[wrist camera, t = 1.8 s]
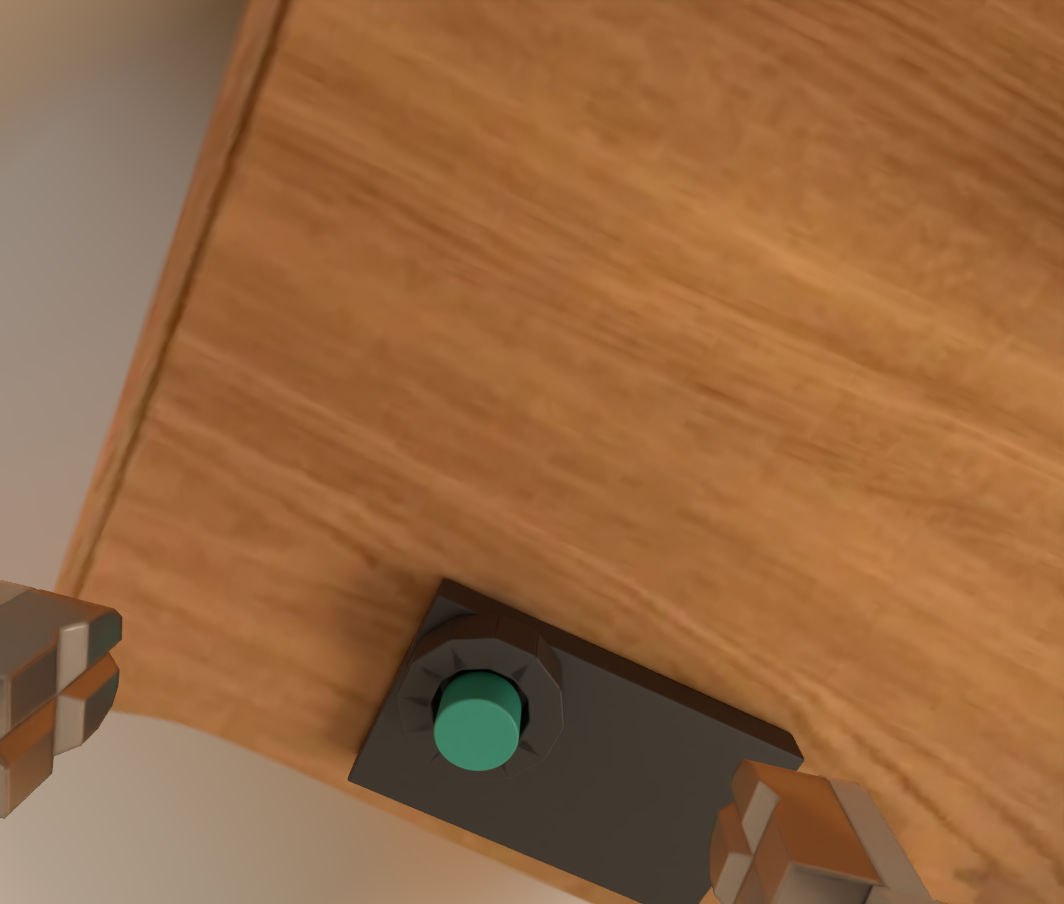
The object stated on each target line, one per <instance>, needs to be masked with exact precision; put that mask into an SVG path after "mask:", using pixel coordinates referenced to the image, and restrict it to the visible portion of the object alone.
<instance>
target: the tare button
mask: <svg viewBox="0 0 1064 904" xmlns="http://www.w3.org/2000/svg"><path fill="white" fill-rule="evenodd" d="M520 719H521V701H520V698H519V695H518V693H517V692H516V690H515V689H514V687H513V686H512V685H511V684H510V683H509V682H508V681H507V680H505V679H504V678H502V677H500V676H498V675H496V674H493V673H489V672H483V671H476V672H470V673H466V674H463V675H461V676H459V677H457V678H456V679H454V680H453V681H452V682H451V683H450V684H449V685H448V686H447V687H446V689H445V690H444V693H443V695H442V699H441V702H440V706H439V709H438V713H437V717H436V720H435V724H434V730H433V732H434V740H435V743H436V745H437V748H438V749H439V751H440V752H441V754H442V755H443V756H444V757H445V758H446V759H447V760H448V761H450V762H451V763H453V764H454V765H456V766H458V767H461V768H464V769H468V770H474V771H483V770H489V769H493V768H496V767H498V766H500V765H502V764H503V763H505V762H506V761H507V760H508V759H509V758H510V757H511V756H512V755H513V753H514V752H515V750H516V748H517V745H518V741H519V731H520Z"/></svg>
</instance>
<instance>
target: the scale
mask: <svg viewBox="0 0 1064 904" xmlns="http://www.w3.org/2000/svg"><path fill="white" fill-rule="evenodd" d="M476 671H483V672H489V673H493V674H496V675H498V676H500V677H502V678H504V679H505V680H507V681H508V682H509V683H510V684H511V685H512V686H513V687H514V689H515V690H516V692H517V693H518V695H519V698H520V701H521V719H520V731H519V741H518V745H517V748H516V750H515V752H514V753H513V755H512V756H511V757H510V758H509V759H508V760H507V761H506V762H505V763H503V764H502V765H500V766H498V767H496V768H493V769H489V770H483V771H474V770H468V769H464V768H461V767H458V766H456V765H454V764H453V763H451V762H450V761H448V760H447V759H446V758H445V757H444V756H443V755H442V754H441V752H440V751H439V749H438V748H437V745H436V743H435V740H434V732H433V730H434V724H435V720H436V717H437V713H438V709H439V706H440V702H441V699H442V695H443V693H444V690H445V689H446V687H447V686H448V685H449V684H450V683H451V682H452V681H453V680H454V679H456V678H457V677H459V676H461V675H463V674H466V673H470V672H476ZM742 759H746V760H750V761H754V762H759V763H763V764H767V765H772V766H776V767H780V768H785V769H789V770H793V771H797V770H798V768H799V767H800V766H801V764H802V763H803V762H804V757H803V755H802V753H801V751H800V749H799V747H798V745H797V743H796V741H795V739H794V737H793V736H792V735H791V734H789V733H787V732H785V731H783V730H781V729H778V728H776V727H774V726H772V725H769V724H767V723H765V722H763V721H761V720H758V719H756V718H754V717H752V716H750V715H747V714H745V713H743V712H741V711H738V710H736V709H734V708H732V707H730V706H727V705H725V704H723V703H721V702H719V701H716V700H714V699H712V698H710V697H707V696H705V695H703V694H701V693H699V692H696V691H694V690H692V689H690V688H687V687H685V686H683V685H681V684H679V683H676V682H674V681H672V680H670V679H668V678H665V677H663V676H661V675H659V674H656V673H654V672H652V671H650V670H648V669H645V668H643V667H641V666H639V665H637V664H634V663H632V662H630V661H628V660H625V659H623V658H621V657H619V656H617V655H614V654H612V653H610V652H608V651H605V650H603V649H601V648H599V647H597V646H594V645H592V644H590V643H588V642H586V641H583V640H581V639H579V638H577V637H574V636H572V635H570V634H568V633H566V632H563V631H561V630H559V629H557V628H555V627H552V626H550V625H548V624H546V623H543V622H541V621H539V620H537V619H535V618H532V617H530V616H528V615H526V614H523V613H521V612H519V611H517V610H515V609H512V608H510V607H508V606H506V605H504V604H501V603H499V602H497V601H495V600H492V599H490V598H488V597H486V596H484V595H481V594H479V593H477V592H475V591H472V590H470V589H468V588H466V587H464V586H461V585H459V584H457V583H455V582H453V581H450V580H448V579H443V581H442V583H441V585H440V587H439V589H438V591H437V593H436V595H435V597H434V599H433V601H432V603H431V605H430V608H429V610H428V612H427V614H426V616H425V618H424V620H423V622H422V624H421V626H420V628H419V630H418V632H417V634H416V636H415V638H414V640H413V642H412V644H411V646H410V648H409V650H408V652H407V655H406V657H405V659H404V661H403V663H402V665H401V667H400V669H399V671H398V673H397V675H396V677H395V679H394V681H393V683H392V685H391V687H390V689H389V691H388V693H387V695H386V697H385V700H384V702H383V704H382V706H381V708H380V710H379V712H378V714H377V716H376V718H375V720H374V722H373V724H372V726H371V728H370V730H369V732H368V734H367V736H366V738H365V740H364V742H363V744H362V747H361V749H360V751H359V753H358V755H357V757H356V759H355V762H354V764H353V767H352V769H351V771H350V774H349V776H348V781H350V782H352V783H355V784H357V785H360V786H362V787H364V788H367V789H369V790H372V791H374V792H376V793H379V794H381V795H384V796H386V797H388V798H391V799H393V800H396V801H398V802H400V803H403V804H405V805H407V806H410V807H412V808H415V809H417V810H419V811H422V812H424V813H427V814H429V815H431V816H434V817H436V818H439V819H441V820H443V821H446V822H448V823H451V824H453V825H455V826H458V827H460V828H463V829H465V830H467V831H470V832H472V833H475V834H477V835H479V836H482V837H484V838H487V839H489V840H491V841H494V842H496V843H499V844H501V845H503V846H506V847H508V848H510V849H513V850H515V851H518V852H520V853H522V854H525V855H527V856H530V857H532V858H534V859H537V860H539V861H542V862H544V863H546V864H549V865H551V866H554V867H556V868H558V869H561V870H563V871H566V872H568V873H570V874H573V875H575V876H578V877H580V878H582V879H585V880H587V881H590V882H592V883H594V884H597V885H599V886H602V887H604V888H606V889H609V890H611V891H613V892H616V893H618V894H621V895H623V896H625V897H628V898H630V899H633V900H635V901H637V902H640V903H642V904H699V903H700V901H701V900H702V899H703V897H704V896H705V895H706V893H707V892H708V891H709V889H710V888H711V886H712V883H711V879H710V873H709V860H708V853H709V844H710V835H711V830H712V828H713V825H714V822H715V819H716V816H717V813H718V811H719V810H721V809H722V808H724V807H725V806H727V805H728V804H730V803H731V802H733V801H734V798H733V795H732V792H731V789H730V785H729V782H730V780H731V777H732V775H733V772H734V770H735V768H736V766H737V765H738V764H739V763H740V762H741V761H742Z"/></svg>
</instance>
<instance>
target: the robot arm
mask: <svg viewBox="0 0 1064 904" xmlns="http://www.w3.org/2000/svg"><path fill="white" fill-rule="evenodd" d="M121 640H122V616H121V615H120V614H119V613H118V612H117V611H116V610H115V609H114V608H110V607H106V606H102V605H98V604H94V603H91V602H87V601H83V600H79V599H75V598H72V597H68V596H64V595H60V594H56V593H52V592H49V591H45V590H37V589H35V588H32V587H28V586H24V585H20V584H16V583H12V582H7V581H4V580H0V818H4V819H5V818H6V817H7V816H8V815H9V814H10V813H11V812H12V811H13V810H14V809H15V808H16V807H17V806H18V805H19V804H20V803H21V802H23V800H25V799H26V798H27V797H28V796H29V795H30V794H31V793H32V792H33V791H34V790H35V789H36V788H37V787H38V786H39V785H40V784H41V783H42V782H43V781H45V779H47V778H48V777H49V776H50V775H51V774H52V769H53V758H54V756H56V755H58V754H61V753H63V752H66V751H69V750H71V749H74V748H76V747H79V746H81V745H82V744H83V743H84V742H85V741H86V740H87V739H88V738H89V737H90V736H91V735H92V734H93V733H94V732H95V731H96V730H97V729H98V728H99V726H100V724H101V723H102V721H103V719H104V718H105V716H106V715H107V713H108V711H109V710H110V708H111V707H112V704H113V701H114V698H115V695H116V692H117V688H118V682H119V671H120V670H119V668H118V666H117V665H116V663H115V661H114V659H113V658H112V656H111V654H110V653H109V651H110V650H111V649H112V648H113V647H114V646H115V645H116V644H117V643H119V642H120V641H121ZM729 785H730V789H731V792H732V795H733V798H734V801H733V802H731V803H730V804H728V805H727V806H725V807H724V808H722V809H721V810H719V811H718V813H717V816H716V819H715V822H714V825H713V828H712V830H711V835H710V844H709V853H708V860H709V873H710V879H711V883H712V888H713V892H714V895H715V896H716V898H717V899H718V900H719V901H720V902H721V904H947V903H945V902H941V901H937V900H933V899H932V898H931V896H930V894H929V893H928V891H927V889H926V888H925V886H924V884H923V882H922V881H921V879H920V877H919V876H918V874H917V872H916V871H915V869H914V867H913V866H912V864H911V862H910V861H909V859H908V857H907V856H906V854H905V852H904V851H903V849H902V847H901V845H900V844H899V842H898V840H897V839H896V837H895V835H894V834H893V832H892V830H891V829H890V827H889V825H888V824H887V822H886V820H885V819H884V817H883V815H882V814H881V812H880V810H879V808H878V807H877V805H876V803H875V802H874V800H873V798H872V797H871V795H870V793H869V792H868V791H867V790H866V789H865V788H864V787H862V786H861V785H860V784H859V783H855V782H850V781H846V780H841V779H836V778H831V777H826V776H821V775H819V776H815V775H811V774H806V773H802V772H798V771H793V770H789V769H785V768H780V767H776V766H772V765H767V764H763V763H759V762H754V761H750V760H746V759H742V761H741V762H740V763H739V764H738V765H737V766H736V768H735V770H734V772H733V775H732V777H731V780H730V782H729Z"/></svg>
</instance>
